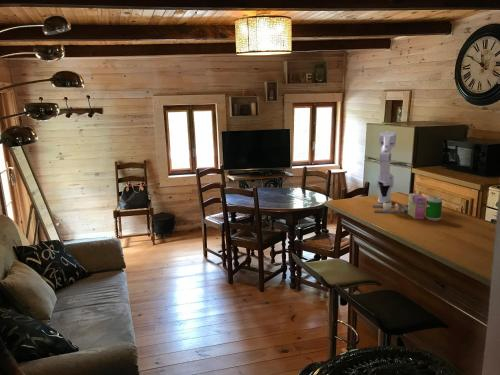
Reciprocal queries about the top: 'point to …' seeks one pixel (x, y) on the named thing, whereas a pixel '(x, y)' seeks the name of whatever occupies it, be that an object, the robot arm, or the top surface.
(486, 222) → the top surface
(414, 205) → the box
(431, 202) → the soda can
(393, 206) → the lane
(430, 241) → the top surface
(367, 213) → the top surface
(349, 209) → the top surface
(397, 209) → the bar
